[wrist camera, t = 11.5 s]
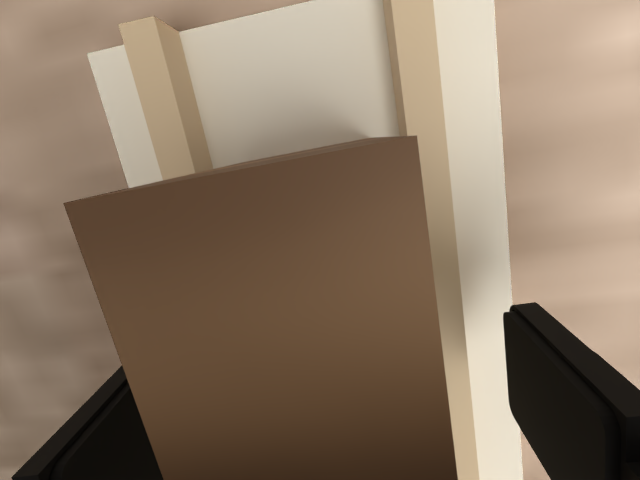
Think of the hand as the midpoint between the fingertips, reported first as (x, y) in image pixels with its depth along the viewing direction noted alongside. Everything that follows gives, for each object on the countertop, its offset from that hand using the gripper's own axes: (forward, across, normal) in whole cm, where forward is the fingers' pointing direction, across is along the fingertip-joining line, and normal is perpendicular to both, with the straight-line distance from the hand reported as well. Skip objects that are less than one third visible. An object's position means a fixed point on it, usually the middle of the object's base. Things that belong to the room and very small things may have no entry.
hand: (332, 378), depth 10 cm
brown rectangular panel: (+3, 0, 0) cm, 3 cm away
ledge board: (+5, 0, 0) cm, 5 cm away
